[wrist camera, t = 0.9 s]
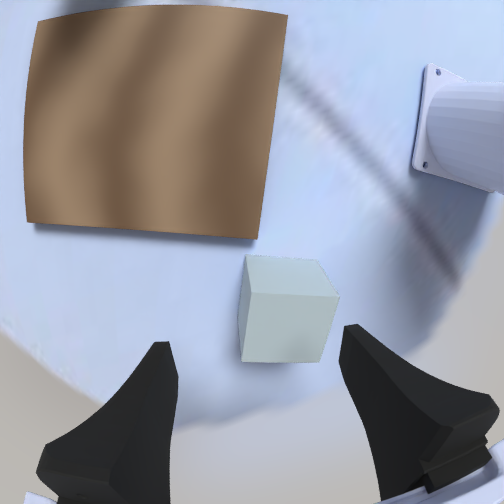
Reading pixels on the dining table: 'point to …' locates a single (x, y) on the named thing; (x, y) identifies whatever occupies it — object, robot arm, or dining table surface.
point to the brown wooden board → (152, 118)
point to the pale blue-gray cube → (284, 310)
